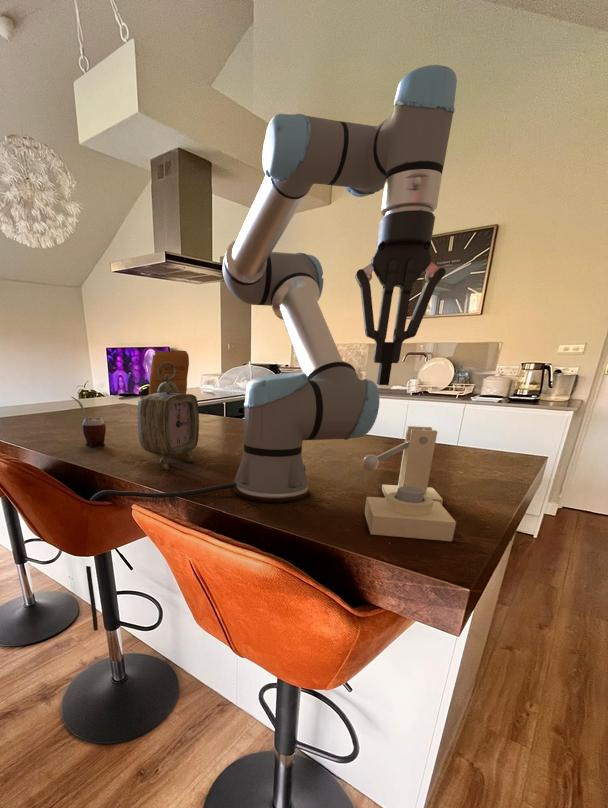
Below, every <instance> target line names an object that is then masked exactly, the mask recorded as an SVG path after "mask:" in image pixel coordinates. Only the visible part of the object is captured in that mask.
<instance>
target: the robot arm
mask: <svg viewBox="0 0 608 808" xmlns="http://www.w3.org/2000/svg"><path fill="white" fill-rule="evenodd" d="M457 85H458V78H457V74H456V72H455V71H454V70H453V68H451V67H449V66H446V65H441V64H428V65H424V66H421V67H418V68H416V69H414V70H412V71H410V72H408V73H407V74H405V76H404V77H402V78H401V80H400V81H399V83H398V85H397V89H396V93H395V97H394V101H393V103H392V106H393V112H392V114H390V115H389V116H388V117H387V118H386V119H385V120H384V121H382V122H381V123H379V125H369V124H362V123H356V122H350V121H341V120H335V119H328V118H323V117H316V116H311V115H305V114H303V113H295V114H293V113H292V114H291V113H277V114H276V115H274V116H273V117H272V118H271V119H270V121H269V123H268V125H267V127H266V132H265V138H264V140H263V146H262V168H263V172H264V175H265V176H264V178H263V181H262V183H261V185H260V187H259V190H258V192H257V194H256V196H255V198H254V200H253V202H252V205H251V207H250V210H249V211H248V214H247V216H246V218H245V220H244V223H243V225H242V227H241V229H240V232H239V233H238V236H237V238H236V239H235V240H233V241H232V242H231V243H230V244H229V246H228V247H227V249H226V251H225V254H224V256H223V259H222V275H223V280H224V282H225V284H226V287H227V288H228V290H229V292H230V293H231V294H232V296H234V297H235V298H236V299H237V300H239V301H240V302H242V303H245V304H248V305H250V306H269V307H270V306H271V308H272V311H273V313H274V315H275V316H276V317H277V318H278V319H280V320H282V321H283V323H284V326H285V328H286V331H287V335H288V337H289V340H290V342H291V345H292V348H293V351H294V354H295V356H296V360H297V362H298V365H299V368H300V372H287V373H276V374H269V375H264V376H263V375H262V376H257V377H254V378H251V380H249V381H248V383H247V384H246V387H245V396H244V403H243V407H244V425H243V455H242V458H241V461H240V462H239V463H240V464H239V467H238V469H237V472H236V475H235V478H234V480H233V482H228V483H224V484H223V483H222V484H218V485H213V486H208V487H203V488H198V489H191V490H184V491H175V492H174V491H173V492H146V491H133V490H132V491H131V490H124V491H123V490H111V489H107V490H106V489H105V490H101V491H98V492H97V493H95V494H94V495H92V497H91V498H90V500H89V502H96V501H98V500H99V498H101V497H105V496H116V497H138V498H139V497H140V498H152V499H165V498H166V499H167V498H180V497H188V496H195V495H201V494H205V493H206V494H207V493H211V492H215V491H221V490H227V489H232V488H233V492H234V494H236V495H237V496H238V497H241V498H244V499H246V500H250V501H255V502H262V503H289V502H295V501H299V500H301V499H304V498H305V497H307V495H308V492H309V482H308V481H309V480H308V477H307V474H306V465H305V464H304V461H303V457H302V454H303V453H302V452H303V441H322V440H323V441H324V440H344V441H347V440H350V439H358V438H359V439H360V438H362V437H364V436H366V435H367V434H368V433H369V432H370V431H371V430H372V428H373V426H374V424H375V422H376V421H377V417H378V414H379V409H380V390H379V388H378V385H379V386H389V385H390V379H391V373H392V365H393V364H398V363H399V361H400V359H401V352H402V347H403V343H404V341H406V340H408V339H412V338H415V337H416V335H417V333H418V331H419V328H420V327H421V323H422V321H423V319H424V316H425V314H426V311H427V309H428V306H429V304H430V301H431V299H432V297H433V293H435V288H436V287H437V285H438V284H439V283H440V281H441V280H442V279H443V278H444V277H445V275H446V272H447V271H446V268H445V267H439V266H438V265H436V264H435V263H434V262H433V255H432V253H431V244H432V239H433V233H434V227H435V221H436V216H435V214H434V212H435V211H436V210H437V208H438V202H439V197H440V190H441V183H442V177H443V170H444V167H445V161H446V156H447V152H448V151H447V149H448V145H449V140H450V139H449V138H450V133H451V128H452V124H453V123H452V122H453V117H454V113H455V111H456V108H455V102H456V101H455V100H456V93H457ZM314 184H315V185H326V186H335V187H341V188H342V187H343V188H344V189H345V190H346V191H347V192H349V194H351V195H352V196H354V197H356V198H364V197H368V196H371V195H374V194H376V193H378V192H380V191H381V190H383V193H382V199H381V200H382V201H381V209H380V214H381V215H382V216H383V217H382V218H381V219H380V220H379V224H378V225H379V226H378V234H377V239H376V240H377V241H376V248H375V253H374V255H373V256H372V258H371V261H370V263H369V264H368V265H366V266H364V267H363V268H359V269H358V270H357V271H356V273H355V275H354V278H355V280H356V282H357V285H358V286H359V289H360V295H361V296H360V297H361V307H362V316H363V317H362V318H363V326H364V335H365V337H367V338H368V339H369V338H370V339H372V340H374V342H375V345H374V346H375V347H374V353H373V363H375V364H379V366H378V372H377V379H376V382H374V381H373V380H371V379H368V378H364V379H360V378H359V375H358V373H357V371H356V369H355V367H354V365H352V364H351V363H350V362H349V361H348V362H347V361H345V360H343V359H342V357H341V354H340V352H339V349H338V346H337V344H336V341H335V340H334V337H333V335H332V332H331V330H330V327H329V326H328V323H327V321H326V318H325V316H324V314H323V312H322V310H321V307H320V304H319V300H320V298H321V296H322V293H323V288H324V278H323V275H324V271H323V267H322V263H321V262H320V260H319V259H318V258H317V257H316V256H315V255H312V254H307V253H305V252H296V253H294V252H282V251H281V252H279V251H274V249H275V247H276V246H277V244H278V242H279V241H280V239H281V238H282V236H283V234H284V232H285V231H286V229H287V228H288V226H289V224H290V223H291V221H292V219H293V218H294V216H295V214H296V213H297V211H298V209H299V208H300V207H301V205H302V203H303V201H304V200H305V198H306V196H307V195H308V193H309V192H310V191H311V188H312V187H313V185H314ZM373 272H374V275H375V276H376V278H377V280H378V282H379V284H380V285H381V286H382V290H381V301H380V306H379V307H380V308H379V315H378V321H377V328H376V329H375V319H374V308H373V299H372V298H373V297H372V288H371V281H372V279H373ZM425 272H426V273H425ZM424 273H425V276H424V279H425V281H426V282H425V284H424V285H423V287H422V290H421V292H420V295H419V298H418V300H417V302H416V305H415V307H414V310H413V313H412V314H411V317H410V319H409V320H410V321H409V323H408V325H407V327H406V324H407V319H408V318H407V317H408V313H409V305H410V298H411V293H412V289H413V285H414V284H415V283H416V282H417V281H418V280H419V278H421V276H422V275H423V274H424ZM395 288H398V299H397V307H396V315H395V321H394V327H393V335H392V341H386V339H387V334H388V329H389V328H388V327H389V321H390V313H391V307H392V300H393V294H394V289H395ZM85 572H86V580H87V587H88V594H89V601H90V608H91V616H92V617H91V618H92V628H93V631H95V632H96V631H98V630H99V626H98V625H99V624H98V615H97V614H98V613H97V606H96V598H95V591H94V584H93V575H92V565H91V566H90V565H85Z"/></svg>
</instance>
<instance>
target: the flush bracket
mask: <svg viewBox="0 0 608 808" xmlns="http://www.w3.org/2000/svg"><path fill="white" fill-rule="evenodd" d="M423 428H424V429H426V430H421V429H423ZM437 437H438V430H436V429H433V427H432V426H412V425H410V426H409V425H408V426H406V432H405V437H404V438H405V439H404V442H406V441H408V440H410V441H409V447H408V448H406V449H404V450H402V456H401V457H402V458H401V463H400V470H399V477H398V483H397V484H382V486H381V491H382V493H383V496H384V498H386V495H387V494H389V493H391V492H397V490H398V488H399V487H415V488H419V489H422V490H424V495H425V496H427V497H430V498H431V499H432V500H433V501H436V502H440V503H441V505H442V506H443V502H444V499H443V497H442V496H441V495H440V494H439V492H437V491H436V489H434V488H433V487H428V485H429V480H430V474H431V469H432V463H433V458H434V453H435V448H436V443H437V442H436V441H437Z"/></svg>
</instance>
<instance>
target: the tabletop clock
mask: <svg viewBox="0 0 608 808" xmlns="http://www.w3.org/2000/svg"><path fill="white" fill-rule="evenodd" d="M165 365H170V366H172V367H173V369H174V375H173V376H172V377H170V376H169V375H168V374H167V375H165V378H164V377H162V376H161V375H160V369H161V368H162V367H163V366H165ZM158 375H159V377H160V379H162V380H163V381H166V382H164V383H161V384H160V385H159V387H158V390H157V391H158V392H166V393H155V394H150V395H149V394H147V395H145V396H144V397H142V398H141V399H140V400H139V401H138V402H137V409H136V412H137V415H136V416H137V429H138V431H137V432H138V439H139V444H140V446H141V448H142V449H143V450H144V451H145V452H148V453H155V454H160V455H161V456H162V457H161V458H160V460H159V461H160V463H161V464H162V466H161V468H162V470H163V471H168V470H169V469H170V466H169V464H168V463H167V461H168V460H167V455H169V456H179V455H185V456H186V460H187V462H193V460H194V457H193V456H192V455H191V454H190V455H189V452H191V451H193V450H194V449H195V448H196V447H197V446H198V442H199V434H200V416H199V415H200V414H199V411H200V410H199V403H198V398H197V396H196V395H194V394H190V393H186V394H177V393H170V392H178V391H179V390H178V387H177V386H176V385H175V384H174V383H171V382H170V380H172V379H174V378H175V376H176V368H175V366H174V365H173V364H172V363H170V362H164V363H162V364H161V365H160V366H159V368H158Z"/></svg>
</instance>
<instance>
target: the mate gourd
mask: <svg viewBox="0 0 608 808" xmlns="http://www.w3.org/2000/svg"><path fill="white" fill-rule="evenodd" d="M71 398H72V399H73V400H74V401H75V402H77V403H78V405H79V407H80V408H81V410H82V413H83V414H84V417H85V419H83V421H82V424H81V430H82V435H83V437H84V439H85V441H86V443H85V445H86V446H89V448H94V447H96V446H97V447H105V446H106V444H105V439H106V433H107V427H106V424H105V421H104V420H103V418H98V417H91V418H89V417H88V415H87V413H86V409H85V408H84V405H83V403H82V402H81V401H80V400H78V399H77V398H76V397H73V396H71Z"/></svg>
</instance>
